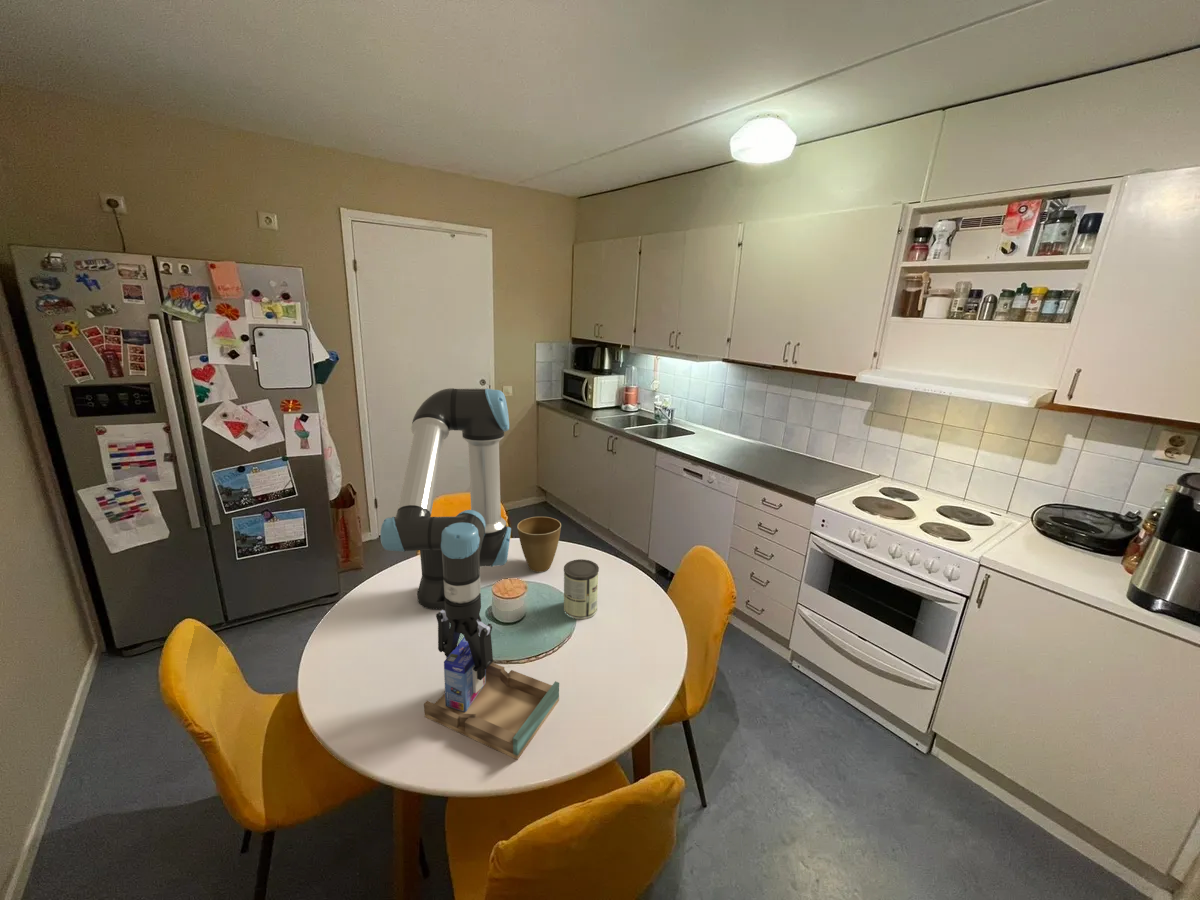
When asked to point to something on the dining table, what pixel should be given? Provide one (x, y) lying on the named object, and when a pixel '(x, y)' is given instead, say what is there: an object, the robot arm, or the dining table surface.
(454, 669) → the ink cartridge box
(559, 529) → the plant pot
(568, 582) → the coffee can
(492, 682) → the channel
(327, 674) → the dining table surface
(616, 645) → the dining table surface
